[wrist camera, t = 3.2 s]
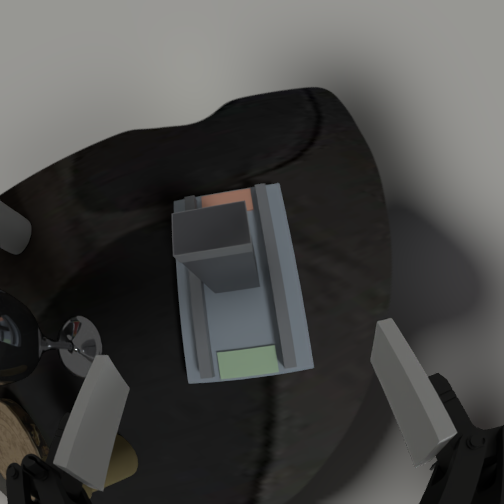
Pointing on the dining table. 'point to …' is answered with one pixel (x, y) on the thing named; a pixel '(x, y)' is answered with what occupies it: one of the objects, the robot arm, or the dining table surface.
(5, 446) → the wood slice
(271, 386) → the dining table surface
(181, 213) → the handle
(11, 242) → the lotion bottle
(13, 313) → the wine glass
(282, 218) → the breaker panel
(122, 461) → the cork
